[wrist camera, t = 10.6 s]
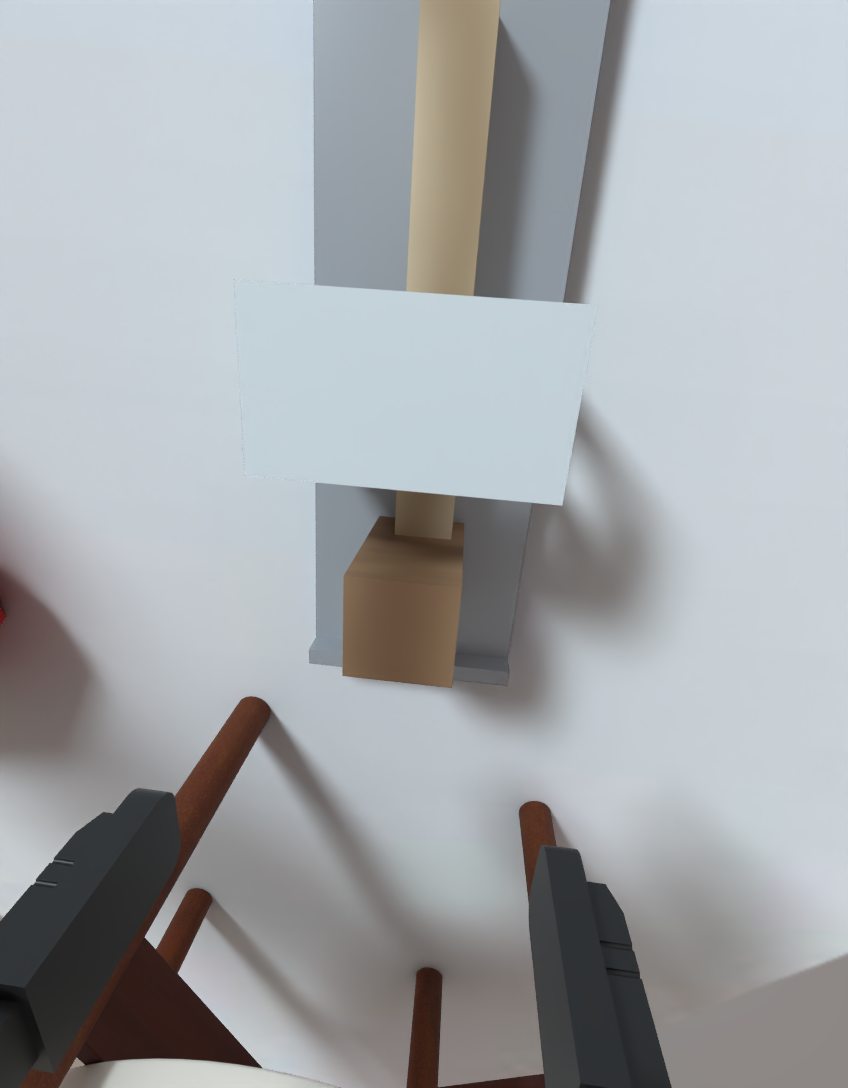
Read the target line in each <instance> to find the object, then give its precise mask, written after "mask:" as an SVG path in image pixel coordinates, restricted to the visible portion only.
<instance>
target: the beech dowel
mask: <svg viewBox="0 0 848 1088" xmlns="http://www.w3.org/2000/svg"><path fill="white" fill-rule="evenodd" d="M500 3H501V0H420V17H419V38H418V59H417V80H416V100H415V121H414V142H413V163H412V183H411V204H410V225H409V245H408V266H407V287H406V291H407V292H421V293H435V294H449V295H464V296H474V287H475V277H476V266H477V255H478V244H479V233H480V222H481V211H482V200H483V189H484V178H485V168H486V157H487V146H488V135H489V124H490V113H491V102H492V91H493V80H494V70H495V59H496V48H497V37H498V26H499V15H500ZM454 505H455V495H444V494H434V493H423V492H412V491H402V490H397V494H396V515H395V535H405V536H416V537H427V538H438V539H448V540H451V536H452V526H453V516H454Z"/></svg>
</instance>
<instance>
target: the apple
mask: <svg viewBox="0 0 848 1088" xmlns="http://www.w3.org/2000/svg"><path fill="white" fill-rule="evenodd" d="M5 617H6V616H5V614H4V612H3V611H2V609H1V607H0V626H1V624H2V622H3V621H4V619H5Z"/></svg>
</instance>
